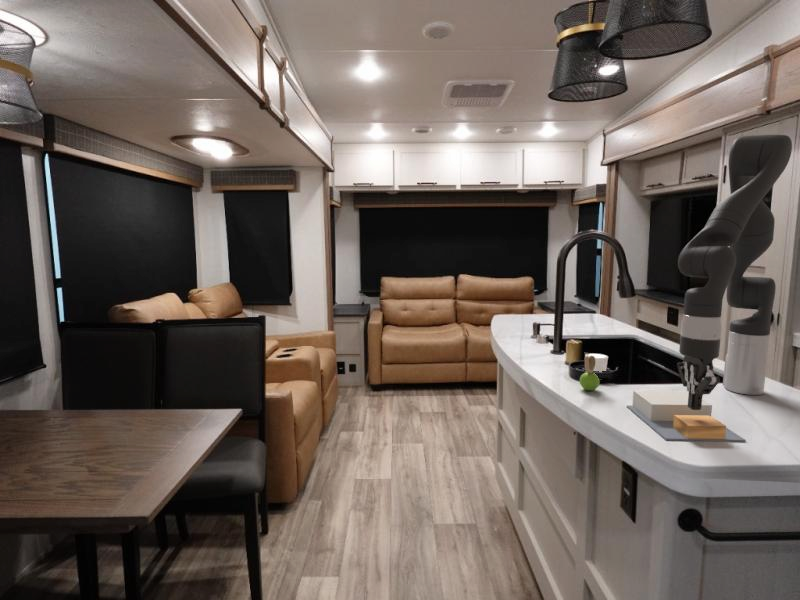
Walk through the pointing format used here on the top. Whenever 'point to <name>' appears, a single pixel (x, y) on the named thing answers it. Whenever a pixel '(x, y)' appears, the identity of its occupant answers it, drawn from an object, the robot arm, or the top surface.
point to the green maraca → (589, 374)
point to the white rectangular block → (666, 405)
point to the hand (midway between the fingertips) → (694, 408)
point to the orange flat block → (699, 427)
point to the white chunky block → (599, 361)
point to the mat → (671, 433)
